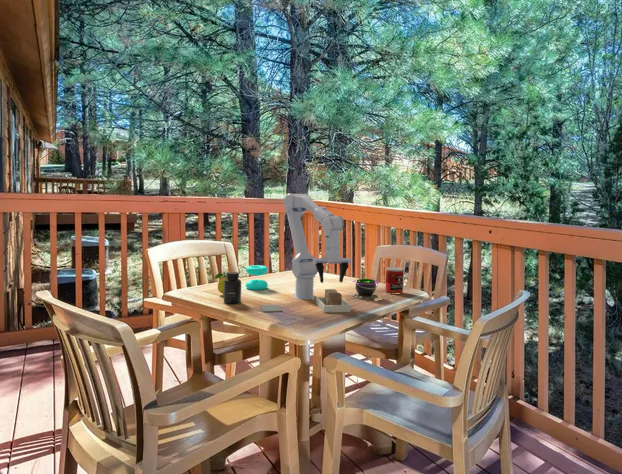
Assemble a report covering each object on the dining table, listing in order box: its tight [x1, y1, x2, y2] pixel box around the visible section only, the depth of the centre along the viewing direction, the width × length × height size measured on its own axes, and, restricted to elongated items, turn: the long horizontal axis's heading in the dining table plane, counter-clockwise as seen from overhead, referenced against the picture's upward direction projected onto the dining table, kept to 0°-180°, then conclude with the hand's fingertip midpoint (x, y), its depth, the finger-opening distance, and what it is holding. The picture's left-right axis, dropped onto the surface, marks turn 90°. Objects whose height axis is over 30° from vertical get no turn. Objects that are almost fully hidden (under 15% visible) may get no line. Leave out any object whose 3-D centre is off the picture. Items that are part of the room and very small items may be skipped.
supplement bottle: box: [223, 271, 242, 305], centre depth 199 cm, size 7×7×12 cm
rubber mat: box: [260, 304, 283, 313], centre depth 190 cm, size 9×9×1 cm
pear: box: [214, 271, 227, 296], centre depth 212 cm, size 7×6×10 cm
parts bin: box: [315, 296, 352, 313], centre depth 193 cm, size 14×10×3 cm
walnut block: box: [329, 292, 343, 305], centre depth 189 cm, size 4×4×6 cm
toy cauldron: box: [352, 272, 380, 301], centre depth 213 cm, size 15×15×11 cm
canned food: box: [384, 266, 404, 294], centre depth 224 cm, size 8×8×11 cm
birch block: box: [324, 288, 338, 305], centre depth 196 cm, size 4×4×6 cm
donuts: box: [245, 264, 269, 291], centre depth 227 cm, size 10×10×10 cm
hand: (331, 282), depth 195 cm, fingers open, 7 cm apart
